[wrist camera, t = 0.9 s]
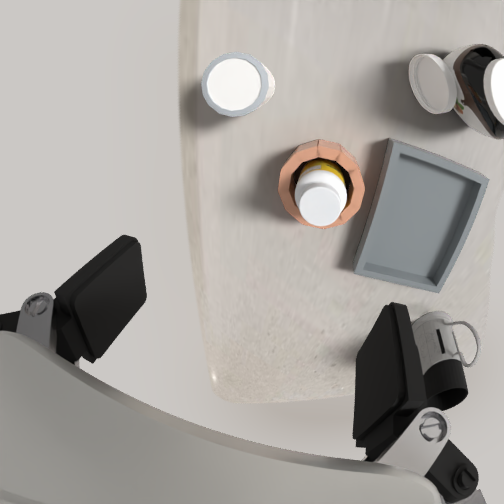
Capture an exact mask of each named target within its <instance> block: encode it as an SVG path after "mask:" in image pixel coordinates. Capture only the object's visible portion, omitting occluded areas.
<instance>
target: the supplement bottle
mask: <svg viewBox="0 0 504 504" xmlns="http://www.w3.org/2000/svg"><path fill="white" fill-rule="evenodd" d="M346 200H347V192H346V187H345V181H344V176H343V173H342V170H341V168H340V167H339V166H338V165H337V164H336V163H335V162H334V161H332V160H330V159H325V158H315V159H313V160H311V161H309V162H308V163H307V164H306V165H305V166H304V167H303V169H302V171H301V173H300V177H299V180H298V182H297V185H296V189H295V201H296V204H297V206H298V208H299V210H300V213H301V215H302V217H303V218H304V219H305V220H306V221H307V222H308V223H310V224H312V225H315V226H327V225H329V224H331V223H333V222H334V221H336V219H337V218H338V217H339V215H340V213H341V212H342V210H343V209H344V207H345V204H346Z"/></svg>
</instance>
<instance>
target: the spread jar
mask: <svg viewBox="0 0 504 504" xmlns="http://www.w3.org/2000/svg"><path fill="white" fill-rule="evenodd" d="M409 81H410V85H411V88H412V91H413V93H414V95H415V97H416V99H417V100H418V102H419V103H420V104H421V106H422V107H423V108H424V109H425V110H427V111H428V112H430V113H433V114H440V113H446V112H449V111H450V110H452V108H453V110H454V111H455V112H456V113H457V114H458V116H459V117H460V118H461V119H462V120H463V121H464V122H465V123H466V124H467V125H468V126H469V127H471V128H472V129H474V130H475V131H477V132H478V133H481V134H483V135H486V136H488V137H491V138H494V139H504V56H503V55H502V54H501V53H500V52H498V51H497V50H495V49H494V48H492V47H490V46H488V45H484V44H474V45H469V46H465V47H462V48H459V49H457V50H455V51H453V52H451V53H450V54H448V55H447V56H446V57H445V58H444V59H443V60H442V59H440V58H439V57H437V56H436V55H433V54H418V55H416V56H414V57H413V58H412V59H411V61H410V64H409Z"/></svg>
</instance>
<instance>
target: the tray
mask: <svg viewBox="0 0 504 504" xmlns="http://www.w3.org/2000/svg"><path fill="white" fill-rule="evenodd" d="M488 182H489V179H488V178H487V177H485V176H484V175H482V174H481V173H479V172H477V171H475V170H473V169H471V168H469V167H466V166H464V165H462V164H459V163H457V162H455V161H452V160H450V159H447V158H445V157H442V156H440V155H437V154H435V153H432V152H429V151H427V150H424V149H421V148H418V147H415V146H412V145H409V144H406V143H403V142H400V141H397V140H394V139H391V138H389V140H388V145H387V149H386V153H385V157H384V161H383V165H382V169H381V173H380V177H379V181H378V184H377V188H376V192H375V195H374V199H373V202H372V206H371V209H370V212H369V216H368V219H367V222H366V225H365V228H364V231H363V234H362V238H361V241H360V244H359V246H358V249H357V252H356V255H355V258H354V261H353V268H354V274H357V275H361V276H365V277H370V278H374V279H379V280H383V281H387V282H392V283H396V284H400V285H405V286H409V287H413V288H418V289H422V290H427V291H431V292H435V293H439V292H440V290H441V289H442V287H443V285H444V283H445V281H446V279H447V278H448V276H449V274H450V272H451V270H452V268H453V266H454V264H455V262H456V260H457V258H458V256H459V254H460V252H461V250H462V248H463V246H464V243H465V241H466V239H467V237H468V235H469V232H470V230H471V228H472V225H473V223H474V220H475V218H476V215H477V213H478V210H479V208H480V205H481V202H482V199H483V197H484V194H485V191H486V188H487V185H488Z"/></svg>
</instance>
